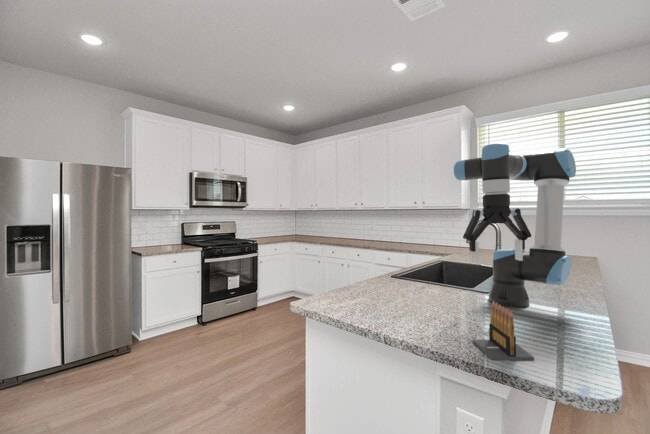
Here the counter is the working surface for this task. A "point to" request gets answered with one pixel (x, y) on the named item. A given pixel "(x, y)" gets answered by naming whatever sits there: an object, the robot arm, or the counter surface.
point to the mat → (498, 354)
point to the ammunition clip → (502, 329)
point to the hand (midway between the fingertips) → (497, 261)
